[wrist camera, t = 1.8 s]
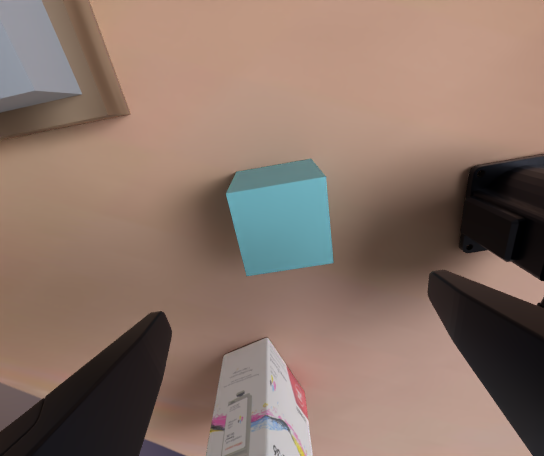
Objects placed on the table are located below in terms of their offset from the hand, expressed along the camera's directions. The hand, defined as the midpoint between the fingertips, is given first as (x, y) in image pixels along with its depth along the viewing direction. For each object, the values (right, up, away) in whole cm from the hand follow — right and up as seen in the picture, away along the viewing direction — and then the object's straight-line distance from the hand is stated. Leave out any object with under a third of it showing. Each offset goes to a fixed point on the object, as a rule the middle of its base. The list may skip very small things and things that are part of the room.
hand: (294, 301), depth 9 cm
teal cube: (0, +4, +10) cm, 11 cm away
